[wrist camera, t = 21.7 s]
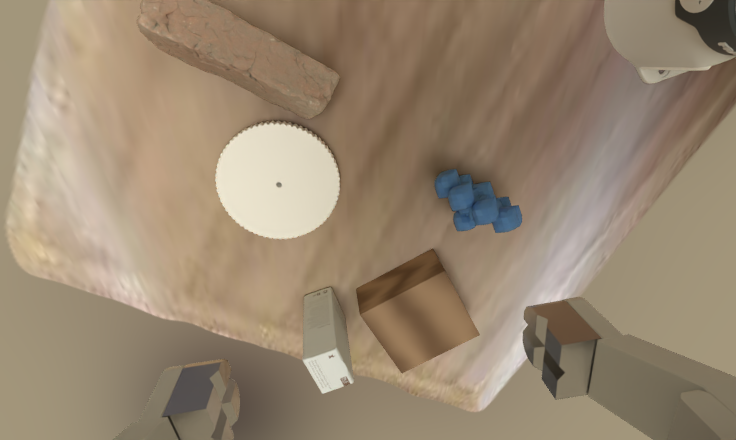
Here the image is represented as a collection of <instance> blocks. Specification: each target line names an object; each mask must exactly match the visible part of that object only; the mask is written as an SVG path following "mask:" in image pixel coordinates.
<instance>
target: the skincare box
mask: <svg viewBox="0 0 736 440" xmlns="http://www.w3.org/2000/svg"><path fill="white" fill-rule="evenodd" d="M303 362H304V363H305V365H306V367H307V368H308V370H309V372H310V374H311V375H312V377H313V378H314V380H315V382H316V384H317V385H318V387H319V389H320V390H321V392H322V394H323V393H326V392H329V391H332V390H335V389H337V388H340V387H343V386H345V385H348V384H351V383H353V381H354V378H353V370H352V363H351V356H350V349H349V342H348V334H347V327H346V320H345V316H344V314H343V312H342V309H341V307H340V305H339V303H338V301H337V299H336V296H335V294H334V292H333V290H332V288H331V287H329V288H325V289H322V290H319V291H316V292H313V293H311V294H308V295H305V296H304V320H303Z"/></svg>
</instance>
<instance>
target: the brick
mask: <svg viewBox="0 0 736 440" xmlns="http://www.w3.org/2000/svg"><path fill="white" fill-rule="evenodd" d="M140 9H141V15H139V16H138V18H137V25H138V28H139V29H140V32H141V33H142V34H143V35H144V36H145V37H146V38H147V39H148V40H149V41H152V43H153V44H154V45H155V46H156V47H157V48H158V49H160V50H162V51H164V52H166V53H168V54H169V55H171V56H174V57H176V58H178V59H181V60H182V61H184V62H186V63H188V64H189V65H191V66H195V67H197V68H199V69H201V70H203V71H205V72H210V73H213V74H216V75H219V76H222V77H224V78H225V79H227V80H229V81H231V82H233V83H235V84H237V85H239V86H241V87H243V88H245V89H247V90H249V91H251V92H253V93H254V94H256V95H257V96H259V97H261V98H263V99H265V100H267V101H269V102H270V103H272V104H276V105H279V106H282V107H283V108H284V109H286V110H289V111H292V112H294V113H295V114H297V115H298V116H300V117H303V118H306V119H311V118H312V117H313V116H316V115H318V114H320V113H322V112H323V111H324V109H325V108H326V106H327V103H328V102H329V101H330V99H331V97H332V95H333V92H334V89H335V87H336V86H337V84H338V82H339V80H340V76H339V75H338V74H337V73H336V72H335V71H333V70H332V69H331V68H329V67H327V66H325V65H324V64H322V63H320V62H318V61H316V60H314V59H312V58H310V57H309V56H307V55H305V54H302V53H301V52H300V51H299V50H297V49H295V48H293V47H291V46H290V45H288V44H286V43H285V42H283V41H281V40H279V39H278V38H276V37H275V36H273V35H271V34H270V33H268V32H265V31H263V30H261V29H259V28H258V27H255V26H252V25H250V24H249V23H248V22H246V21H244V20H243V19H241V18H240V17H238V16H237V15H235V14H233V13H232V12H230V11H229V10H227V9H225V8H223V7H220V6H218V5H215V4H213V3H211V2H209V1H207V0H142V2H141V4H140Z"/></svg>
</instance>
